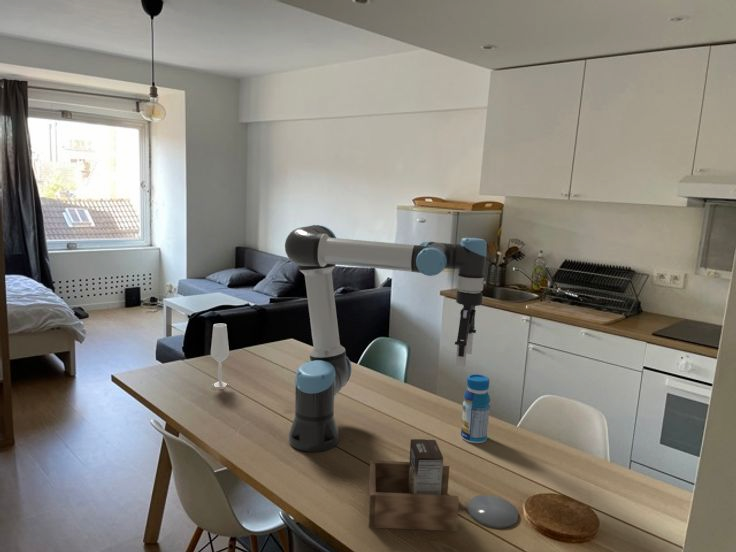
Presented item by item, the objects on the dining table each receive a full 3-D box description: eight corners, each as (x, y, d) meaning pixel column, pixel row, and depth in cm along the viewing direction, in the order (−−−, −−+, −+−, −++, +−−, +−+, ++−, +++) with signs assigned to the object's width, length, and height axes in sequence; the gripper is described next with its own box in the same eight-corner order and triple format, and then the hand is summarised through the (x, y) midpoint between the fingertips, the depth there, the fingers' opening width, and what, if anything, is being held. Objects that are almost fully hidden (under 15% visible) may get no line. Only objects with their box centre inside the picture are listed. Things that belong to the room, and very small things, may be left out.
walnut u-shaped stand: (368, 527, 119) (370, 495, 118) (369, 489, 135) (370, 460, 133) (456, 530, 119) (458, 498, 118) (446, 492, 135) (448, 463, 133)
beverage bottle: (481, 447, 160) (487, 384, 157) (456, 439, 164) (460, 378, 161) (491, 436, 167) (496, 376, 164) (466, 429, 171) (470, 371, 168)
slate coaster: (472, 526, 121) (472, 523, 121) (463, 497, 133) (463, 494, 133) (524, 529, 121) (524, 526, 121) (510, 499, 133) (510, 496, 133)
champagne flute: (223, 381, 204) (223, 321, 200) (232, 386, 199) (232, 325, 195) (207, 385, 199) (207, 324, 195) (216, 390, 194) (216, 328, 190)
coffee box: (406, 498, 131) (409, 438, 129) (431, 498, 132) (435, 438, 129) (412, 521, 122) (416, 457, 120) (439, 521, 123) (444, 457, 120)
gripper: (477, 299, 141) (470, 374, 145) (487, 285, 165) (481, 350, 168) (449, 296, 144) (444, 370, 147) (463, 282, 167) (457, 346, 170)
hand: (463, 359), depth 158 cm, fingers open, 13 cm apart
